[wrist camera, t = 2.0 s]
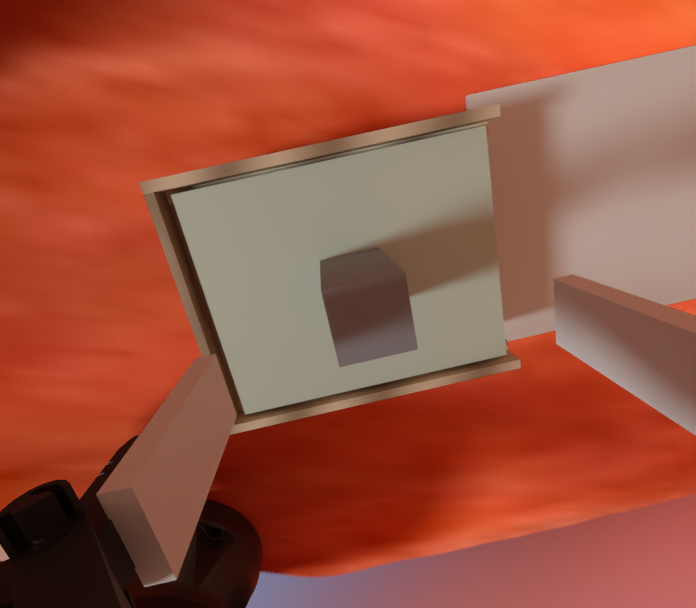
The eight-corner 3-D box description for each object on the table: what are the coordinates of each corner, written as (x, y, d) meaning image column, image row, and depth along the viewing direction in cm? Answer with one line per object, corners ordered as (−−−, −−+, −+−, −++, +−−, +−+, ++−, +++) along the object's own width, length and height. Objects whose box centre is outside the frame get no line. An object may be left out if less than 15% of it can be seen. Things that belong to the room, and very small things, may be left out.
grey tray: (706, 293, 37) (712, 294, 37) (490, 342, 37) (493, 344, 36) (726, 39, 31) (734, 36, 30) (465, 96, 30) (467, 94, 30)
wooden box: (250, 377, 36) (230, 434, 28) (187, 184, 31) (139, 182, 22) (473, 327, 36) (520, 368, 28) (450, 127, 31) (499, 103, 23)
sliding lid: (248, 405, 29) (218, 498, 20) (177, 194, 24) (98, 196, 16) (499, 348, 29) (577, 415, 21) (478, 128, 25) (567, 93, 16)
